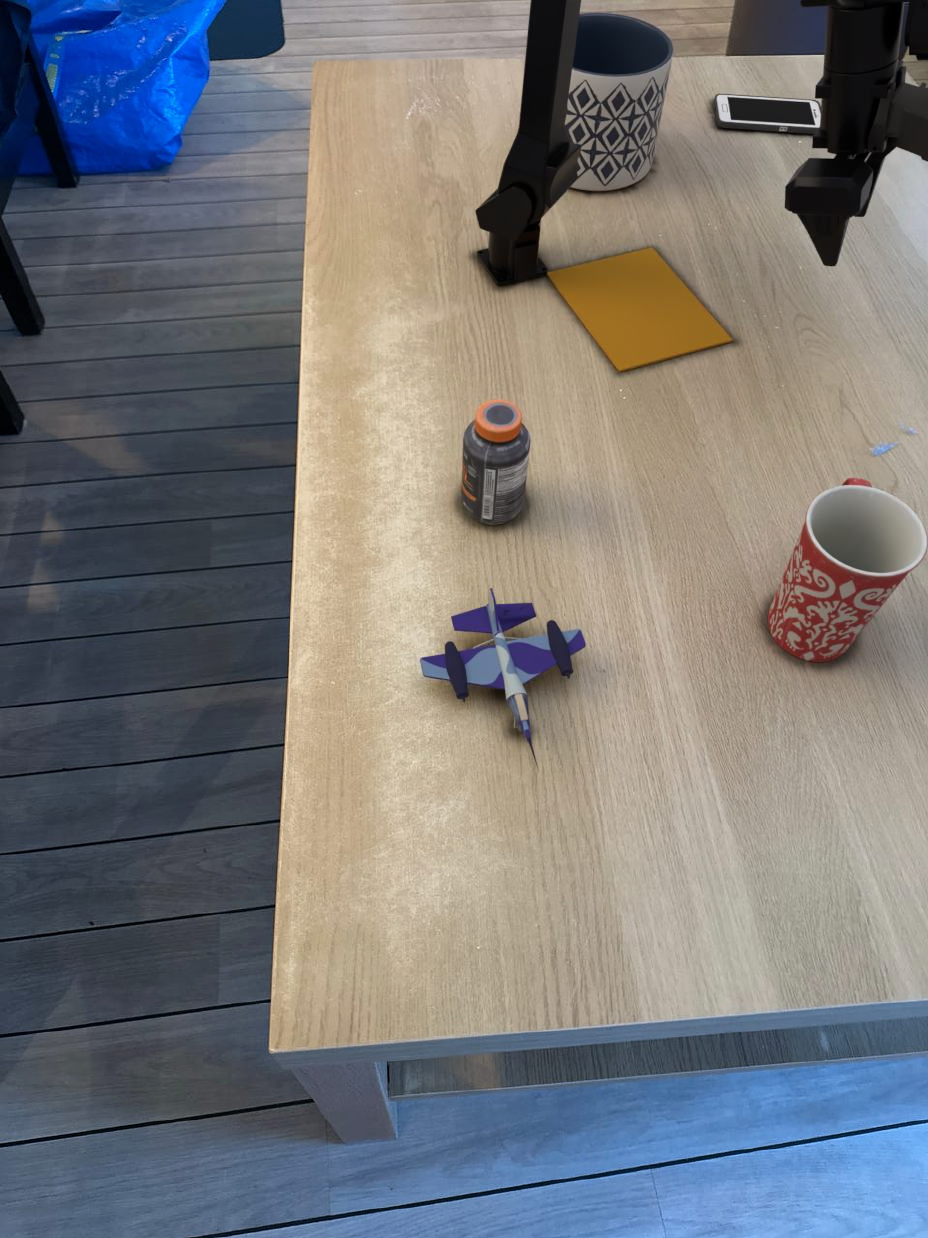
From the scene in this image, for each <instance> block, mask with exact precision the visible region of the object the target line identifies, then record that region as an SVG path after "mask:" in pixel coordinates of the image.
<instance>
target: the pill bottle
mask: <svg viewBox="0 0 928 1238" xmlns="http://www.w3.org/2000/svg"><path fill="white" fill-rule="evenodd" d="M530 449H531V435H530V432H529V430H528V428H527V427H526V425H525V424H524V423H523V414H522V411H521V409H520V408H519V406H517V405H516V404H515V403H513V402H511V401H510V400H505V399H501V398H499V399H497V398H496V399H495V398H494V399H489V400H487V401H485V402H483V403H480V405H479V406H478V407H477V409H476V410H475V415H474V419H473V420H472V421H471V422H470V423H469V424H468V426H467V427H466V429H465V430H464V433H463V438H462V464H461V465H462V467H461V486H460V487H461V488H460V490H461V491H460V503H461V507H462V509H463V511H464V512H465V513H466V515H467V516H468V517H469V518H471V519H472V520H475V521H476V522H478V523H481V524H484V525H492V526H493V525H494V526H495V525H502V524H505V523H508V522H510V521H513V520H514V519H515V518H516V517H517V516H519V515H520V513H521V512H522V510H523V506H524V502H525V497H526V487H527V479H528V468H529V459H530V451H531V450H530Z"/></svg>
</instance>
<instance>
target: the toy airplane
mask: <svg viewBox="0 0 928 1238" xmlns="http://www.w3.org/2000/svg"><path fill="white" fill-rule="evenodd" d="M536 617H537V613H536V610H535V607H534V605H533V602H520V603H519V602H515V603H497V601H496V596H495V593H494V590H493V588H492V587H490V588H489V591H488V603H487V604H486V605H483V606H479V607H477V608H474V609H470V610H466V611H464V612H460V613H457V614H454V615H450V619H451V623H452V628H453V631H455V632H465V633H466V632H467V633H478V634H479V633H480V634H488V635H489V634H490V635H491V634H492V637H493V638H491V639H488V640H486V641H484V642H482V643H479V644H476V645H475V646H473V647H472V648H469V649H468V648H467V649H461V650H458V648H457V646H456V644H455V643H454V642H453V641H451V640H449V641H446V643H444V653H440V654H433V655H428V656H423V657H421V658H419V664H420V668H421V672H422V676H423V677H424V678H427V679H428V678H429V679H435V680H441V681H448V682H450V684H451V687H452V689H453V692H454V695H455V697H456V699H458V700H461V701H463V703H466V699H467V698H469V696H470V692H469V685H472V686H479V687H484V688H489V689H497V690H503V691H505V692H504V693H505V700H506V703H507V705H508V707H509V708H510V710H511V712H512V714H513V729H516V730H517V732H519V733H523V735H524V737H525V738H526V741H527V742H528V744H529V747H530V750H531V754H532V756H533V759H534V762H535V766H536V768H537V771H538V772H540V770H539V766H538V762H537V758H536V755H535V751H534V747H533V742H532V735H531V726H530V725H531V724H530V712H529V698H528V694H527V691H526V689H525V687H524V685H525V684H527V683H529V682H530V681H532V680H534V679H535V678H537V677H538V676H540V675H542V674H544V673H545V672H547V671H548V670H550V669H552V668H553V667H555V666H556V667H557V668H558V670H559V672H560V675H561V676H562V677H567V679H568V680H570V679H571V675H572V674H573V673H574V668H573V662H572V656H573V655H575V654H576V653H577V652H580V651H581V650H583V649H584V648H586V645H587V642H586V640H585V638H584V634H583V631H582V630H581V629H580V628H575V629H570V630H563V631H562V630H561V628H560V627H559V625H558V623H557V622H556V620H553V619H550V620H548V621H547V622H546V634H540V635H534V636H529V637H525V638H523V637H515V636H514V637H513V636H512V637H511V636H505V635H504V632H507V631H509V630H511V629H513V628H515V627H518V626H519V625H522V624H523V623H526V622H528V621H530V620H533V619H534V618H536ZM492 642H494V644H492V645H486V644H488V643H492Z"/></svg>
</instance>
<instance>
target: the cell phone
mask: <svg viewBox="0 0 928 1238" xmlns="http://www.w3.org/2000/svg"><path fill="white" fill-rule="evenodd" d="M713 108H714V111H715V113H714V114H715V116H714V117H715V121H716V125H717V126H718V127H719V128H723V129H724V128H725V129H735V130H751V131H767V132H781V133H797V134H811V135H812V134H813V135H814V134H815V133H816V131H817V130H818V128H819V127H820V117H821V102H819V100H816V99H811V98H793V97H780V96H779V97H778V96H765V95H750V94H734V93H733V94H731V93H716V94H715V95H714V98H713Z"/></svg>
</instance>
